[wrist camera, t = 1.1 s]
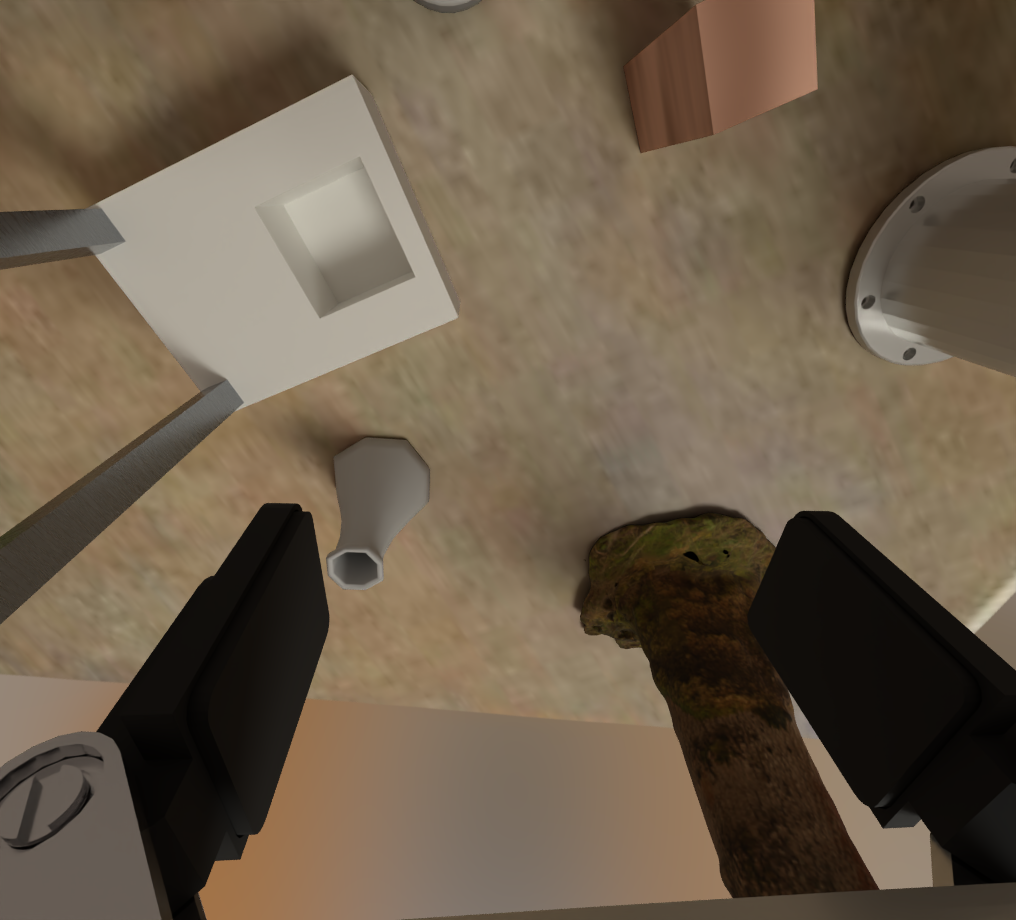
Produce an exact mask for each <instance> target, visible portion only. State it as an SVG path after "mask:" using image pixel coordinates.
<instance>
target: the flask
mask: <svg viewBox="0 0 1016 920" xmlns="http://www.w3.org/2000/svg"><path fill="white" fill-rule="evenodd" d="M334 468H335V480H336V491H337V498H338V503H339V507H340V512H341V520H342V522H341V533H340V539H339V542H338V544H337V547H336V549H335V550H334V551H332V552H330V553H329V554H328V555H327V557H326V562H327V571H328V576H329V577H330V578H331V579H332V580H333V581H334V582H336V583H337V584H338V585H339V586H340V587H341V588H342V589H355V590H366V589H368V588H370V587H372V586H373V585H375V584H377V583H379V582H381V581H383V578H384V575H383V556H384V554H385V552H386V550H387V549H388V547H389V545H390V543H391V541H392V540H393V538H394V537H395V536H396V535H397V534H398V533H399V532H400V530H401V529H402V528H403V527H404V526H405V525H406V524H407V523H408V522H409V521H410V520H411V519H412V518H413V517H414V516H415V515H416V514H417V513H418V512H419V511H420V510H421V509H422V508H423V507H424V506H425V505H426V504H427V503H428V502H429V488H430V468H429V467H428V466H427V465H426V463H425V462H424V461H423V460H422V458H421V457H420V456H419V455H418V453H417V452H416V451H415V450H414V448H413V447H412V446H411V445H410V444H409V442H408V441H407V440H399V439H383V438H368V437H365V438H364V439H362V440H360V441H359V442H357V443H355V444H354V445H352V446H350V447H349V448H347V449H345V450H344V451H342V452H340V453H339V454H337V455H335V456H334Z"/></svg>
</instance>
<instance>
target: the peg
mask: <svg viewBox="0 0 1016 920" xmlns="http://www.w3.org/2000/svg"><path fill="white" fill-rule="evenodd" d="M623 67H624V72H625V77H626V82H627V87H628V92H629V97H630V102H631V107H632V112H633V117H634V121H635V126H636V131H637V136H638V141H639V146H640V151H641V153H643V152H647V151H651V150H655V149H659V148H663V147H667V146H671V145H675V144H679V143H683V142H687V141H691V140H695V139H699V138H703V137H707V136H711V135H714V134H716V133H719V132H721V131H723V130H726V129H728V128H730V127H732V126H735V125H737V124H739V123H742V122H744V121H746V120H748V119H751V118H753V117H755V116H757V115H760V114H762V113H764V112H767V111H769V110H771V109H773V108H776V107H778V106H780V105H783V104H785V103H787V102H789V101H792V100H794V99H796V98H798V97H801V96H803V95H805V94H808V93H810V92H812V91H814V90H817V89H818V84H817V59H816V34H815V9H814V0H705V1H703V2H701V3H699V4H696V5H695V6H694V7H693V8H692V9H690V10H689V11H688V12H687V13H686V14H685V15H683V16H682V17H681V18H680V19H679V20H677V21H676V22H675V23H674V24H673V25H672V26H670V27H669V28H668V29H667V30H666V31H665V32H663V33H662V34H661V35H660V36H659V37H657V38H656V39H655V40H654V41H653V42H652V43H650V44H649V45H648V46H647V47H646V48H645V49H643V50H642V51H641V52H640V53H639V54H638V55H636V56H635V57H634V58H633V59H632V60H630V61H629V62H628V63H627V64H626V65H625V66H623Z"/></svg>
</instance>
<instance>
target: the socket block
mask: <svg viewBox="0 0 1016 920" xmlns="http://www.w3.org/2000/svg"><path fill="white" fill-rule="evenodd" d="M100 208H102V210H103V211H104V212H105V214H106V215H107V216H108V218H109V219H110V221H111V222H112V223H113V225H114V226H115V227H116V229H117V230H118V231H119V233H120V234H121V236H122V237H123V238H124V240H125V241H126V242H124V243H122V244H120V245H118V246H116V247H114V248H111V249H109V250H107V251H105V252H103V253H101V254H97V255H95V256H96V257H97V258H98V259H99V261H100V262H101V263H102V265H103V266H104V267H105V268H106V270H107V271H108V272H109V274H110V275H111V276H112V278H113V279H114V280H115V281H116V283H117V284H118V285H119V287H120V288H121V289H122V290H123V292H124V293H125V294H126V296H127V297H128V298H129V299H130V301H131V302H132V303H133V305H134V306H135V307H136V308H137V310H138V311H139V312H140V314H141V315H142V316H143V317H144V319H145V320H146V321H147V323H148V324H149V325H150V327H151V328H152V329H153V330H154V332H155V333H156V334H157V336H158V337H159V338H160V339H161V341H162V342H163V343H164V345H165V346H166V347H167V348H168V350H169V351H170V352H171V354H172V355H173V356H174V357H175V359H176V360H177V361H178V363H179V364H180V365H181V367H182V368H183V369H184V370H185V372H186V373H187V374H188V376H189V377H190V378H191V379H192V381H193V382H194V383H195V385H196V386H197V387H198V388H199V390H200V391H202V390H204V389H206V388H208V387H211V386H213V385H215V384H218V383H220V382H222V381H224V380H228V381H229V383H230V384H231V385H232V387H233V388H234V389H235V391H236V392H237V394H238V395H239V396H240V398H241V399H242V400H243V402H244V403H243V404H242V405H241V406H240V407H239V408H238V409H236V410H235V411H237V410H239V409H242V408H244V407H246V406H249V405H251V404H253V403H256V402H258V401H261V400H263V399H265V398H268V397H270V396H273V395H275V394H277V393H280V392H282V391H285V390H287V389H289V388H292V387H294V386H296V385H299V384H301V383H304V382H306V381H308V380H311V379H313V378H316V377H318V376H320V375H323V374H325V373H327V372H330V371H332V370H335V369H337V368H339V367H342V366H344V365H347V364H349V363H351V362H354V361H356V360H359V359H361V358H363V357H366V356H368V355H370V354H373V353H375V352H378V351H380V350H382V349H385V348H387V347H390V346H392V345H394V344H397V343H399V342H401V341H404V340H406V339H409V338H411V337H413V336H416V335H418V334H421V333H423V332H425V331H428V330H430V329H433V328H435V327H437V326H440V325H442V324H444V323H447V322H449V321H452V320H454V319H456V318H459V308H460V300H459V297H458V295H457V293H456V290H455V288H454V286H453V283H452V281H451V279H450V276H449V274H448V271H447V269H446V267H445V264H444V262H443V260H442V257H441V255H440V253H439V250H438V248H437V246H436V243H435V241H434V239H433V236H432V234H431V232H430V229H429V227H428V225H427V222H426V220H425V218H424V215H423V213H422V211H421V208H420V206H419V204H418V201H417V199H416V196H415V194H414V192H413V189H412V187H411V185H410V182H409V180H408V178H407V175H406V173H405V171H404V168H403V166H402V164H401V161H400V159H399V157H398V154H397V152H396V150H395V147H394V145H393V143H392V140H391V138H390V136H389V133H388V131H387V129H386V126H385V124H384V121H383V119H382V117H381V114H380V112H379V110H378V107H377V105H376V103H375V100H374V98H373V96H372V94H371V93H370V92H369V91H368V90H367V89H366V88H365V87H364V86H363V85H362V84H361V83H360V82H359V81H358V80H357V79H356V77H355V76H354V75H353V74H352V75H350V76H348V77H346V78H344V79H342V80H340V81H338V82H336V83H334V84H332V85H330V86H328V87H326V88H324V89H322V90H320V91H318V92H316V93H314V94H312V95H310V96H308V97H307V98H305V99H303V100H301V101H299V102H297V103H295V104H293V105H291V106H289V107H287V108H285V109H283V110H281V111H279V112H277V113H275V114H273V115H271V116H269V117H267V118H265V119H263V120H261V121H259V122H257V123H255V124H253V125H251V126H249V127H247V128H245V129H243V130H241V131H239V132H237V133H235V134H233V135H231V136H229V137H227V138H225V139H223V140H221V141H219V142H217V143H215V144H213V145H211V146H209V147H207V148H205V149H203V150H201V151H199V152H197V153H195V154H193V155H191V156H189V157H187V158H185V159H183V160H181V161H179V162H177V163H175V164H173V165H171V166H169V167H167V168H165V169H163V170H161V171H160V172H158V173H156V174H154V175H152V176H150V177H148V178H146V179H144V180H142V181H140V182H138V183H136V184H134V185H132V186H130V187H128V188H126V189H124V190H122V191H120V192H118V193H116V194H114V195H112V196H110V197H108V198H106V199H104V200H102V201H100V202H98V203H96V204H94V205H92V206H90V207H88V208H86V209H100Z"/></svg>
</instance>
